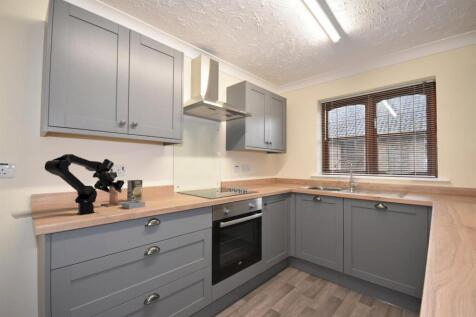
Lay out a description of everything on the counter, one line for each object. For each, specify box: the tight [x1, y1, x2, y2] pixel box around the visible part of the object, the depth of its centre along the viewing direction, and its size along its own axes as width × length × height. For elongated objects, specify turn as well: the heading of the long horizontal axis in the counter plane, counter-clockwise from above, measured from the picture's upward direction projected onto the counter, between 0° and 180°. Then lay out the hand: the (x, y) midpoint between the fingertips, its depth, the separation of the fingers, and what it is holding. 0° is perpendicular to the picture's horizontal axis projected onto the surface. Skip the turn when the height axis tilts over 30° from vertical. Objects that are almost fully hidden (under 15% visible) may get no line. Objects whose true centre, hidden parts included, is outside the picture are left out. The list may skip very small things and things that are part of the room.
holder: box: [121, 200, 146, 210], centre depth 141 cm, size 10×10×4 cm
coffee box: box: [126, 179, 143, 202], centre depth 174 cm, size 9×6×16 cm
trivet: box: [100, 201, 122, 208], centre depth 151 cm, size 12×12×2 cm
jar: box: [108, 186, 119, 205], centre depth 151 cm, size 6×6×13 cm
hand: (115, 192), depth 153 cm, fingers open, 8 cm apart
